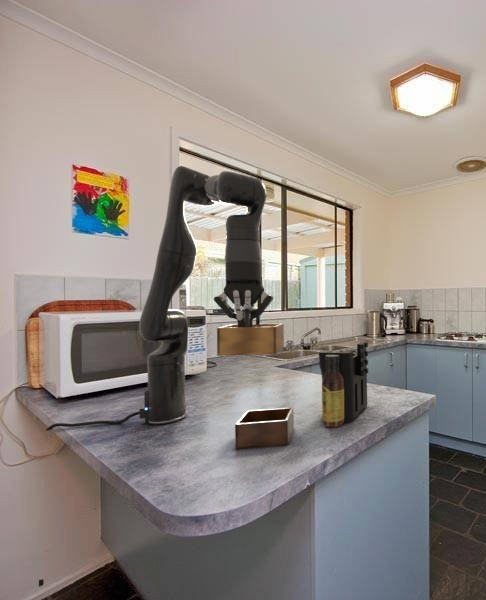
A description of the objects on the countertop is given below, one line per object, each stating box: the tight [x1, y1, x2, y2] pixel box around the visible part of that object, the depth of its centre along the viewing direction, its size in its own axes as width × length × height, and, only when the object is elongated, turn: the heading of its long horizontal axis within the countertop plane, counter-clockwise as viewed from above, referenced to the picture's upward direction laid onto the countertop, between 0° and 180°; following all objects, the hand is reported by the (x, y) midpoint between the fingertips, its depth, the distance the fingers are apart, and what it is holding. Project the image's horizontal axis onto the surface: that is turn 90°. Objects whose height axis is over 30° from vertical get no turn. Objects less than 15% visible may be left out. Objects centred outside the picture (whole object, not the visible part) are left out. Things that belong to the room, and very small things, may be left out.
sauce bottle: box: [321, 355, 345, 428], centre depth 93 cm, size 6×6×20 cm
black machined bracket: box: [318, 341, 369, 424], centre depth 103 cm, size 12×21×22 cm, turn 168°
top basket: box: [216, 306, 285, 357], centre depth 76 cm, size 12×10×10 cm
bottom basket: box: [234, 407, 295, 450], centre depth 84 cm, size 12×10×6 cm
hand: (245, 336), depth 76 cm, fingers closed
